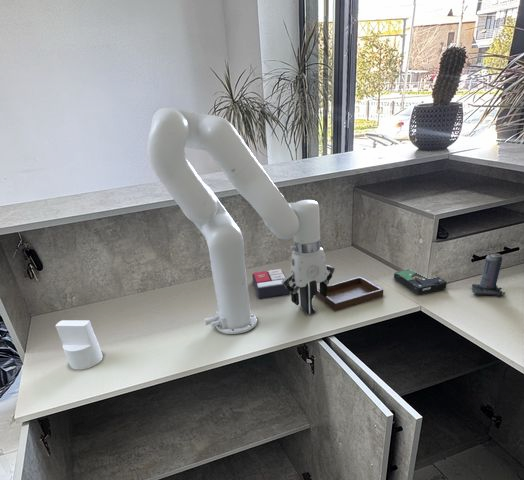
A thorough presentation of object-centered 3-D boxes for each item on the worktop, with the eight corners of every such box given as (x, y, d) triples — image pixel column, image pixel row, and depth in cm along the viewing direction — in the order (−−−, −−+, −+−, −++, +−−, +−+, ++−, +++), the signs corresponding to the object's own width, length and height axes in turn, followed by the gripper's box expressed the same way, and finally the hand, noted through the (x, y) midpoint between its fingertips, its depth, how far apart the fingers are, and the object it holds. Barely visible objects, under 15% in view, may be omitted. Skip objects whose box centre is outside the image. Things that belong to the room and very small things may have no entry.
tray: (335, 311, 134) (335, 303, 132) (315, 296, 144) (315, 289, 142) (383, 296, 139) (383, 289, 137) (360, 283, 149) (360, 276, 147)
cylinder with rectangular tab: (108, 351, 126) (95, 315, 119) (93, 369, 118) (79, 331, 112) (80, 351, 127) (66, 315, 121) (63, 369, 120) (47, 331, 113)
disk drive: (446, 289, 139) (419, 273, 151) (447, 281, 138) (420, 265, 150) (418, 296, 137) (392, 278, 149) (419, 288, 136) (393, 271, 148)
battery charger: (319, 313, 133) (318, 278, 127) (307, 315, 133) (305, 281, 127) (311, 303, 139) (310, 270, 133) (300, 306, 139) (298, 272, 133)
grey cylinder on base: (495, 286, 138) (502, 249, 132) (505, 296, 132) (514, 258, 125) (465, 288, 139) (471, 252, 132) (475, 298, 132) (482, 261, 126)
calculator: (281, 267, 157) (289, 281, 144) (282, 278, 160) (290, 293, 146) (251, 271, 157) (257, 286, 144) (253, 283, 159) (258, 298, 146)
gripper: (286, 256, 120) (290, 311, 129) (340, 242, 124) (340, 296, 134) (274, 249, 125) (279, 302, 135) (326, 235, 130) (327, 288, 140)
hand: (309, 299), depth 134 cm, fingers open, 9 cm apart
